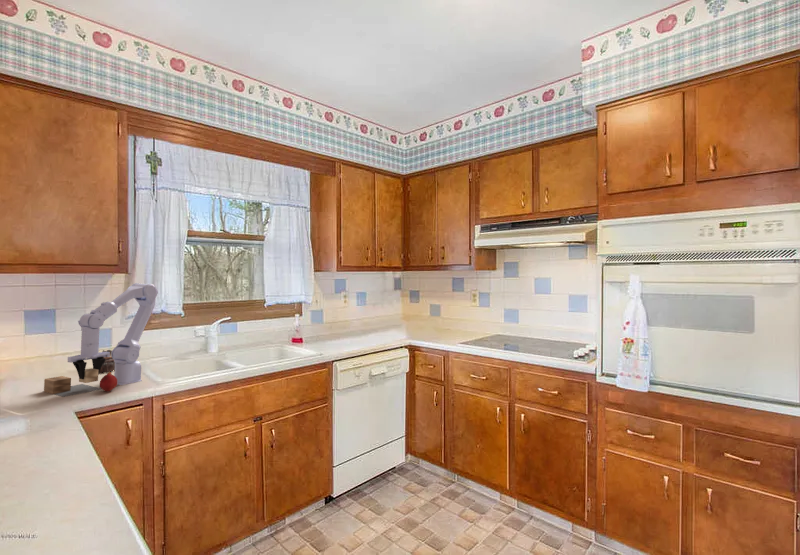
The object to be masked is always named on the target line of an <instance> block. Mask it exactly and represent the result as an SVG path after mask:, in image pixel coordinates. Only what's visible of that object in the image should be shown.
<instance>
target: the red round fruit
mask: <svg viewBox="0 0 800 555" xmlns="http://www.w3.org/2000/svg"><path fill="white" fill-rule="evenodd" d="M117 386H118V385H117V378H116V377H115V376H114V374H112V372H108V373H106V374H105V375H104V376H102V378H101V379H100V381H99V388H101V389H100V390H101V391H105V392H106V393H107V392H108V393H109V392H111V391H112V390H114V389H115V388H116V387H117Z"/></svg>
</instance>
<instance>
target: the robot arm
mask: <svg viewBox="0 0 800 555" xmlns="http://www.w3.org/2000/svg"><path fill="white" fill-rule="evenodd" d="M158 294H159V291H158V290H157V287H156V286H155V284H153V283H140V282H139V283H138V282H134V283H133V284H131V285H130V286H128V287H127V289H126V290H125V291H123V292H121V294H119V295H118V296H116V297H115V298H114V299H112V301H103V302H101V303H100V305H99V306H98V307H95V309H91V310H90V312H89V313H84V314H82V315H81V317H80V318H79V320H77V322H78V325H79V326H80V329H81V330H80V331H81V336H80V337H81V342H80V354H78V355H73V356H68V357H67V363H72V364H73V366H74V367H75V370H76V372H77V374H78V380H79V379H84V377H85V369H86V368H87V364H88V363H87V360H89V361H90V360H91V362H92V368H93V369H98V375H99V374H100V373H99V371H100V369H101V367H102V365H103V363H104V362H105V358H104V357H110V352H102V351H101V352H99V351H100V350H99V349H100V348H99V346H100V328H101V327H102V326H104V323H105V321H106V320H107V319H109V318H110V317H111V316H113V315H115V314H116V313H117V312H118V308H120V307H121V306H123V305H125V304H126V303H128V302H130V301H131V300H133V299H135V301H136V302H137V303H138V305H139V307H138V310H137V311H136V313H135V315H134V317H133V319H132V321H131V323H130V325H129V328H128V330H127V332H126V334H125V336H124V338H123V339H122V340H119V341H118V343H117V345H116V346H115V347H113V349H112V350H111V351H112V352H111V356H112V358H113V359H114V362H115V371H113V372H114V374H113V375H114V376H115V377H116V378H117V385H116V386H124V385H128V384H133V383H138V382H139V383H140V382H143V380H142V365H141V364H142V363H141V362H140V361H139V360H138V358H139V357H140V351H141V347H142V346H141V345H140V343H139V341H140V339H141V337H142V335H143V332H144V330H145V327H146V325H147V324H148V321H149V320H150V317H151V316H152V313H153V311H154V309H155V306H156V297H157V296H158Z"/></svg>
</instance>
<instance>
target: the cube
mask: <svg viewBox="0 0 800 555" xmlns="http://www.w3.org/2000/svg"><path fill="white" fill-rule="evenodd" d="M98 381H99V374H98V369H93V367H91V368H90V367H89V368H85V377H84V379H79V378H78V382H79V383H82V384H88V383H94V382H98Z"/></svg>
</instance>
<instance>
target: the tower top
mask: <svg viewBox="0 0 800 555" xmlns="http://www.w3.org/2000/svg"><path fill="white" fill-rule="evenodd" d="M70 384H71V385H72V378H71V377H68V376H65V375H61V376H54V377H48V378H44V383H43V386H44V385H45V386H49V387H53V388H54V387H59V386H64V385H70Z"/></svg>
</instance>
